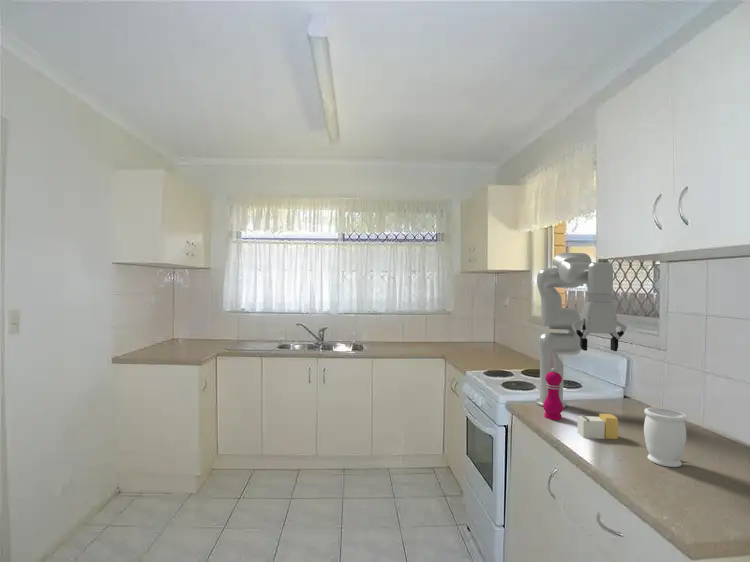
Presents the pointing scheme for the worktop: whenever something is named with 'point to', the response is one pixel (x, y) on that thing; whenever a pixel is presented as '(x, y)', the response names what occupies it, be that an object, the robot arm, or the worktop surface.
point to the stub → (610, 426)
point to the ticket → (591, 427)
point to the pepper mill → (553, 396)
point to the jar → (665, 436)
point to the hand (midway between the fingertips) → (598, 350)
